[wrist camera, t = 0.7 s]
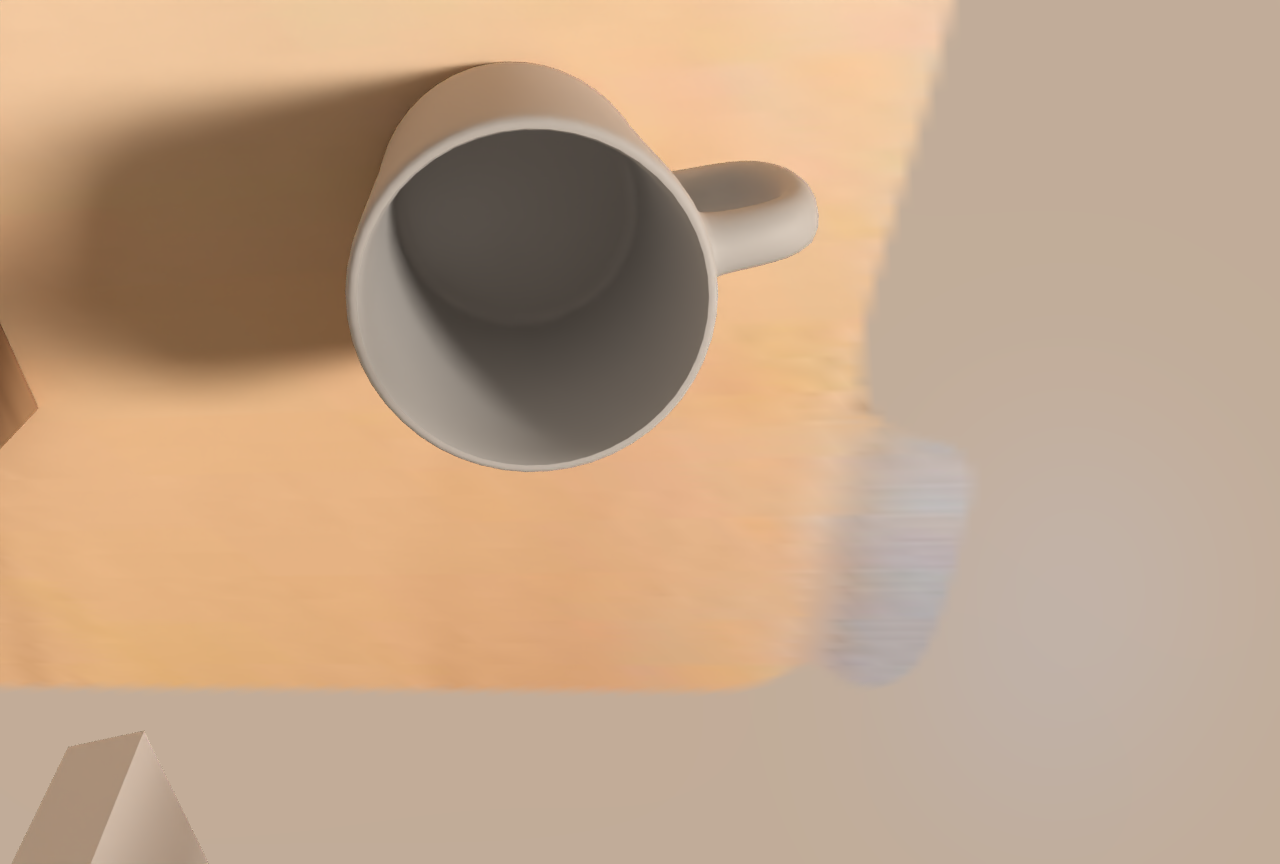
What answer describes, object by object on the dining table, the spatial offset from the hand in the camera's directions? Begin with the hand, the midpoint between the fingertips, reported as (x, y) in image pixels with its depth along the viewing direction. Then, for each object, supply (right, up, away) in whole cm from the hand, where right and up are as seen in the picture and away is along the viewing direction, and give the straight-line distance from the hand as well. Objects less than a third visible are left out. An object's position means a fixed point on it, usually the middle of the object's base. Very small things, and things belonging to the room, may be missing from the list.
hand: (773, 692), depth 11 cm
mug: (-4, +11, +22) cm, 24 cm away
